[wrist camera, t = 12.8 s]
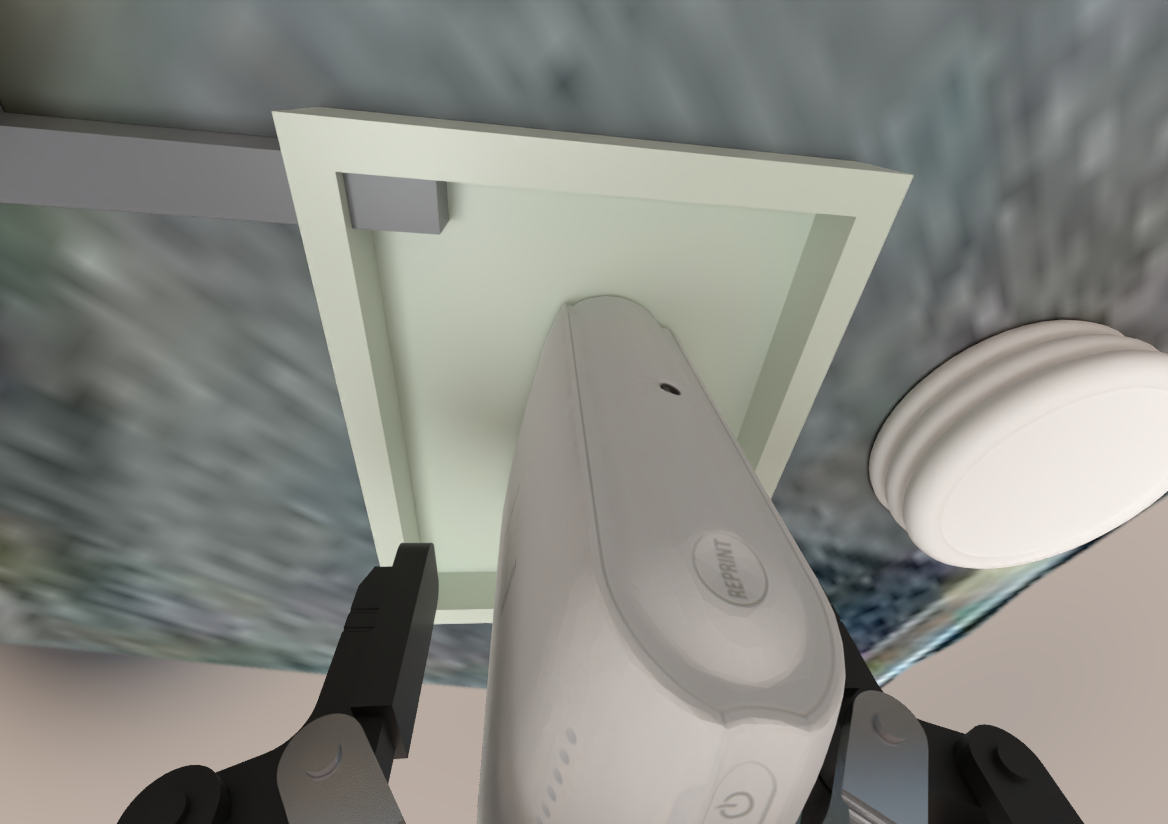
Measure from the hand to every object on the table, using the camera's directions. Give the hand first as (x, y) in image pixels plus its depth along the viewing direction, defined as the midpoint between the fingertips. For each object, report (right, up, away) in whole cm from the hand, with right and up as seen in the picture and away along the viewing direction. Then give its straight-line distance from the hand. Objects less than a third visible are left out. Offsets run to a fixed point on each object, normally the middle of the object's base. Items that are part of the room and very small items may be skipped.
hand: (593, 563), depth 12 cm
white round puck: (+16, +3, +8) cm, 18 cm away
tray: (-1, +4, +5) cm, 6 cm away
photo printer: (0, +3, +5) cm, 6 cm away
